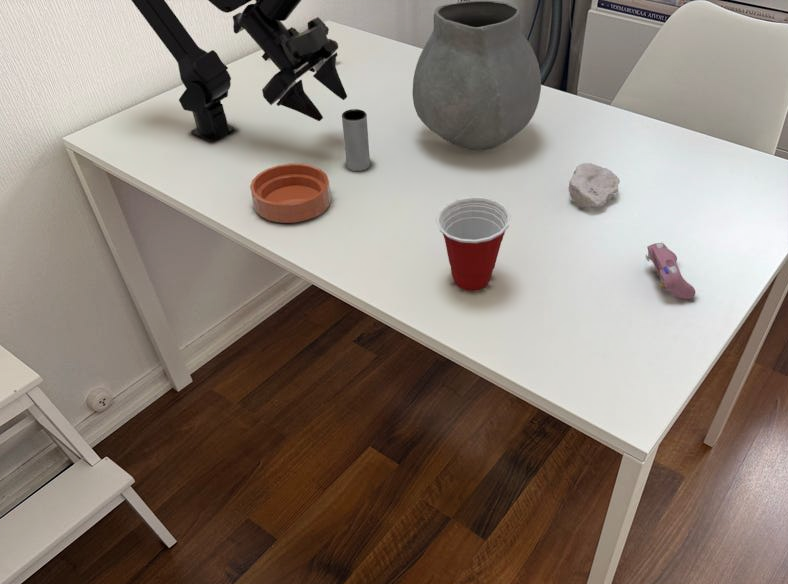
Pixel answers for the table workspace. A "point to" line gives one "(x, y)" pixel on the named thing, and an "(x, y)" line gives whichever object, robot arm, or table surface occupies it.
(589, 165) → the pale grey lumpy chunk
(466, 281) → the plastic cup
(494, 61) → the ceramic pot
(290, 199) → the bowl
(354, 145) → the grey hollow cylinder
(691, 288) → the video game controller
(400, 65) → the table surface
